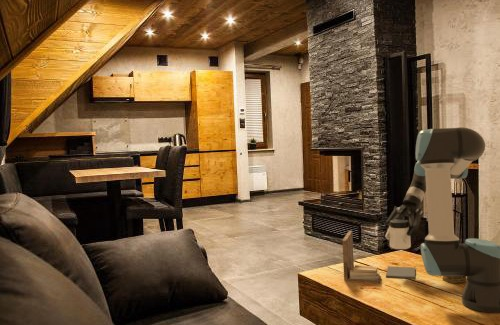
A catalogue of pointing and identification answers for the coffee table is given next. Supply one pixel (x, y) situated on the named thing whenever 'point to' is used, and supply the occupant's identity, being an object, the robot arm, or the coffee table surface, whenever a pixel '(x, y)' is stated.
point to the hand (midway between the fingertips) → (395, 239)
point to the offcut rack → (358, 271)
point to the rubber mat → (400, 272)
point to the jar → (398, 234)
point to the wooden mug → (455, 279)
